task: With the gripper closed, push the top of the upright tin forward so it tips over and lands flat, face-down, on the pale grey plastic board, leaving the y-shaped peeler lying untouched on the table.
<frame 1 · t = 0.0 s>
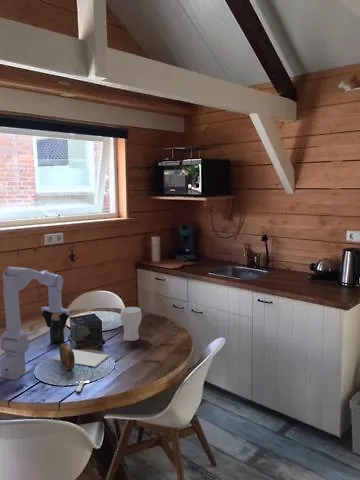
hand: (56, 327, 199), 10 cm above the table, fingers open, 7 cm apart
board: (81, 358, 189), on the table
cup: (131, 338, 213), on the table
supplement bottle: (57, 342, 207), on the table
y-shaped peeler: (83, 381, 167), on the table
tin: (67, 365, 181), on the table, touching board
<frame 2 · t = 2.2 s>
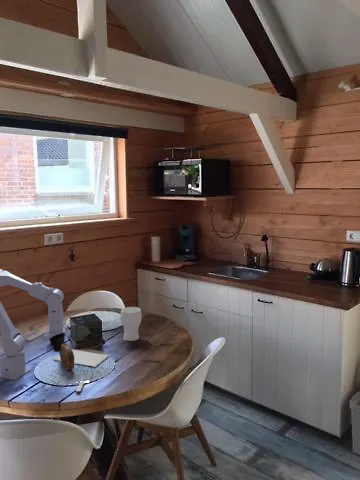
hand: (57, 351, 173), 9 cm above the table, fingers closed
nothing on the table moved.
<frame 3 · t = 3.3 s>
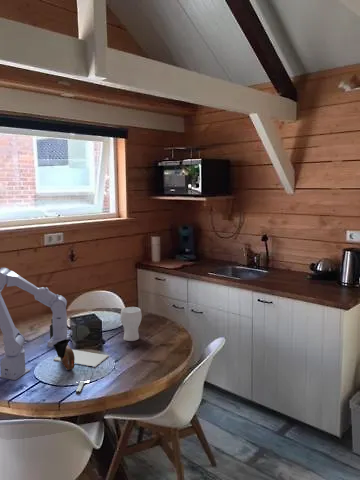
hand: (61, 357, 176), 6 cm above the table, fingers closed
nothing on the table moved.
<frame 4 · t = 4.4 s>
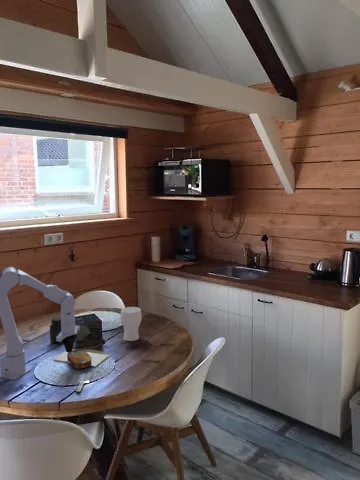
hand: (69, 351, 182), 6 cm above the table, fingers closed
tin: (69, 361, 181), point 2 cm above the table, touching board
everything else where it was.
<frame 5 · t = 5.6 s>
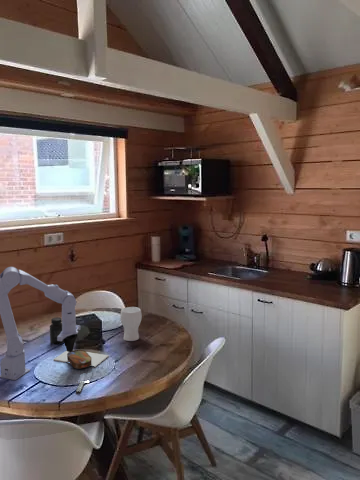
hand: (69, 351, 182), 6 cm above the table, fingers closed
nothing on the table moved.
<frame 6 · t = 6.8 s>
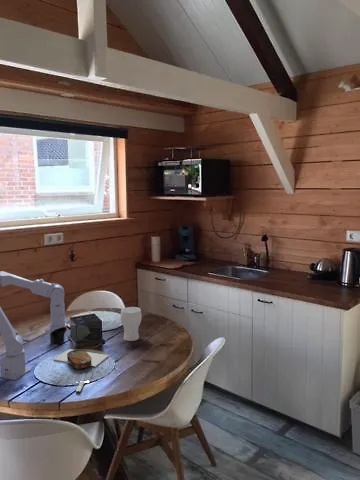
hand: (58, 344, 178), 10 cm above the table, fingers closed
nothing on the table moved.
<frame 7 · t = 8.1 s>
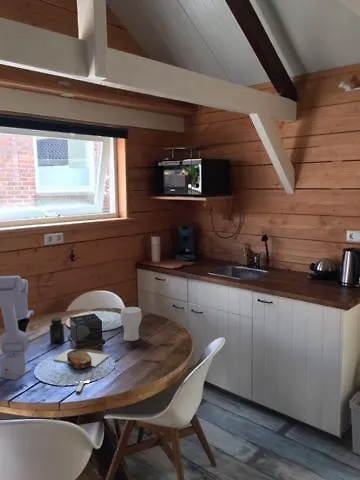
hand: (22, 335, 188), 10 cm above the table, fingers closed
nothing on the table moved.
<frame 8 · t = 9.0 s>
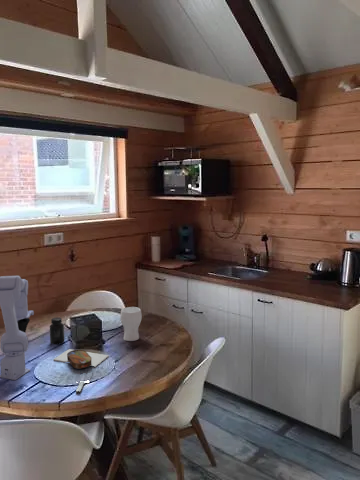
hand: (22, 335, 188), 10 cm above the table, fingers closed
nothing on the table moved.
at the end: tin tilted 86°; tin inside the target area (7.3 cm from its centre), point 1.6 cm above the table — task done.
